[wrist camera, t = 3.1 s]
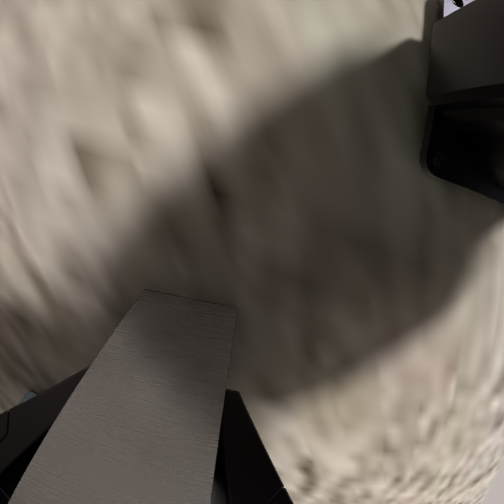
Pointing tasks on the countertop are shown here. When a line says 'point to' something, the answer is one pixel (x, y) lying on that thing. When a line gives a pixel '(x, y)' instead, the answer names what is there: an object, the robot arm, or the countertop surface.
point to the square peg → (141, 412)
